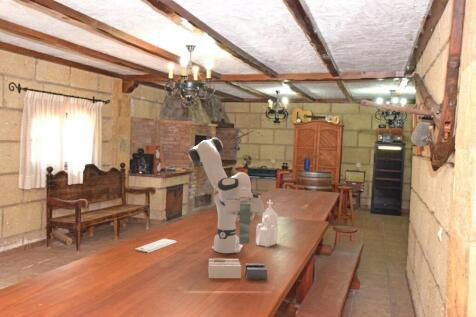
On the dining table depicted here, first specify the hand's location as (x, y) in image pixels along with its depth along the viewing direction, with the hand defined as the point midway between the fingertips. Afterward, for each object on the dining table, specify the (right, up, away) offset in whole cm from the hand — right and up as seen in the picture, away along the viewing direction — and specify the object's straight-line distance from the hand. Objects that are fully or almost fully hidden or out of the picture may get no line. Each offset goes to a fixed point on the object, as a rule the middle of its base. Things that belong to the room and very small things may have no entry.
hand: (245, 221), depth 208 cm
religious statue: (+17, -27, +71) cm, 78 cm away
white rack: (-11, -29, +4) cm, 31 cm away
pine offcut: (-14, -28, +6) cm, 31 cm away
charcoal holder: (+5, -30, +3) cm, 30 cm away
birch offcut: (-8, -28, +7) cm, 30 cm away
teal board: (0, -11, +1) cm, 11 cm away
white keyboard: (-55, -25, +55) cm, 82 cm away
